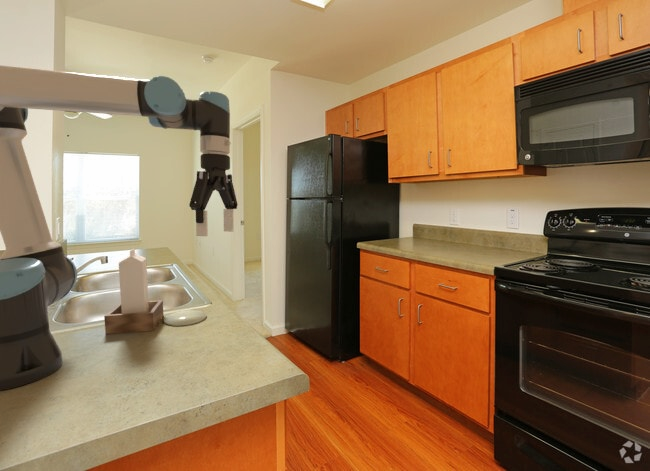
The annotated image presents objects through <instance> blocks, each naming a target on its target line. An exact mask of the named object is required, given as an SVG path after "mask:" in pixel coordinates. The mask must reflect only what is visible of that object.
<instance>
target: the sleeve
mask: <svg viewBox="0 0 650 471" xmlns="http://www.w3.org/2000/svg"><path fill="white" fill-rule="evenodd" d="M148 302H149V312H141V313H126V314H122V309H121V302H119V303H118V304H116V305H115V306H114V307H113V308H112V309H110V311H108V313H106V314H105V315H104V329H105V330H104V332H105V335H109V334H123V333H136V332H138V333H139V332H148V331H155V329H156V328H157V326H158V325H157V324H159V323H160V322H161V321H162V319H161V318H164V316H163V315H164V300H162V299H159V300H148ZM159 321H160V322H159Z"/></svg>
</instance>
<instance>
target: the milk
mask: <svg viewBox="0 0 650 471" xmlns="http://www.w3.org/2000/svg"><path fill="white" fill-rule="evenodd" d="M135 250H136V249H135V247H134V248H132V249H130V250H129V256H127V257H125V258H124V259H122V260H120V261H119V262H118V273H119V274H118V275H119V277H118V278H119V292H120V303H121V309H122V314H126V313H141V312H149V302H148V301H149V286H148V284H149V283H148V270H147V258H146V257H145V256H142V255H141V254H140V255H139V254H138V253H136V252H135Z"/></svg>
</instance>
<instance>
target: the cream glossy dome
mask: <svg viewBox="0 0 650 471" xmlns="http://www.w3.org/2000/svg"><path fill="white" fill-rule="evenodd" d="M206 318H207V313H206V312H204V311H203V310H196V309H191V310H189V309H187V310H181V311H177V312H176V311H175V312H171V313H170V314H167V315H166V316H164V317H163V323H164V324H165V325H168V326H172V327H174V326H175V327H179V326H180V327H182V326H190V325H194V324H199V323H200V322H203V321H204V320H205V319H206Z"/></svg>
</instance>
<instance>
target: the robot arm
mask: <svg viewBox="0 0 650 471" xmlns="http://www.w3.org/2000/svg"><path fill="white" fill-rule="evenodd" d="M29 110H44V111H45V110H46V111H61V112H76V113H87V114H89V113H91V114H103V115H104V114H106V115H121V116H133V117H135V116H136V117H146V118H148V123H149V124H150V125H151V126H152V127H155V128H162V129H164V130H165V129H166V130H167V129H173V130H174V129H175V130H191V131H192V130H193V131H199V133H200V134H199V135H200V136H199V137H200V139H199V140H200V141H199V148H200V150H199V152H200V153H202V154H200V168H201V169H203V170H197V171H196V180H195V183H194V187H193V190H192V194H191V197H190V201H189V205H188V206H189V207H190V209H191V210H192V211H195V226H196V227H195V228H196V229H195V231H196V232H195V234H196V235H195V236H196V237H208V234H209V233H208V210H206V208H207V206H208V203H209V201H210V199H211V196H212V194H213V193H214V191H216V192H218V194H219V197H220V199H221V201H222V203H223V205H224V208H223V232H228V233H229V232H232V233H233V232H234V210H237V209H238V205H239V204H238V201H237V195H236V192H235V189H234V188H235V187H234V183H233V175H232V174H231V173H230V174H227V173H226V171H229V170H230V169H231V157H230V155H229V154H230V153H231V148H230V147H231V146H230V145H231V141H230V136H231V135H230V134H231V133H230V131H231V130H230V129H231V128H230V126H231V125H230V124H231V122H230V121H231V113H230V99H229V97H228V96H227V95H226V94H224V93H222V92H220V91H219V92H217V91H202V92H200V94H199V98H198V99H189V98H187V97H186V95H185V93H184V91H183V89H182V88H181V86H180V85H179V83H178V82H177V81H175V80H174V79H173V78H171V77H169V76H165V75H158V76H154V77H152V78H150V79H138V78H137V79H135V78H127V77H126V78H125V77H119V76H107V75H96V74H88V73H78V72H69V71H59V70H48V69H40V68H38V69H37V68H31V67H28V68H26V67H18V66H8V65H0V234H1V237H2V240H3V241H2V242H3V243H4V245H5V250H4V251H3V253H2V254H1V256H0V391H5V390H9V389H13V388H17V387H21V386H25V385H28V384H31V383H33V382H36V381H39V380H41V379H44V378H45V377H47V376H49V375H51V374H53V373H54V372H55V371H57V370H58V369H59V368H60V367H61V366H62V364H63V355H62V351H61V349H60V347H59V345H58V343H57V341H56V339H55V338H54V336H53V334H52V333H51V330H50V324H49V323H50V322H49V310H48V309H49V308H48V307H50V306H51V305H53V304H55V303H57V302H59V301H60V300H62V299H64V298H65V297H66V296H67V295H68V294H69V293H70V292H71V291H72V289H73V288H74V287H75V285H76V282H77V280H78V270H77V266H76V265H75V263H74V262H73V261H72V259H71V258H69V257H66V254H65V252H64V248H63V246H62V244H61V243H59V242H57V241H54V240H53V239H52V236H51V233H50V230H49V229H50V228H49V226H48V223H47V220H46V216H45V213H44V209H43V207H42V203H41V200H40V198H39V194H38V191H37V188H36V185H35V182H34V178H33V174H32V170H31V168H30V165H29V162H28V159H27V156H26V153H25V149H24V146H23V143H22V142H23V140H24V138H25V137H26V136H27V135H28V132H27V128H26V124H25V122H27V119H28V116H29Z"/></svg>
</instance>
